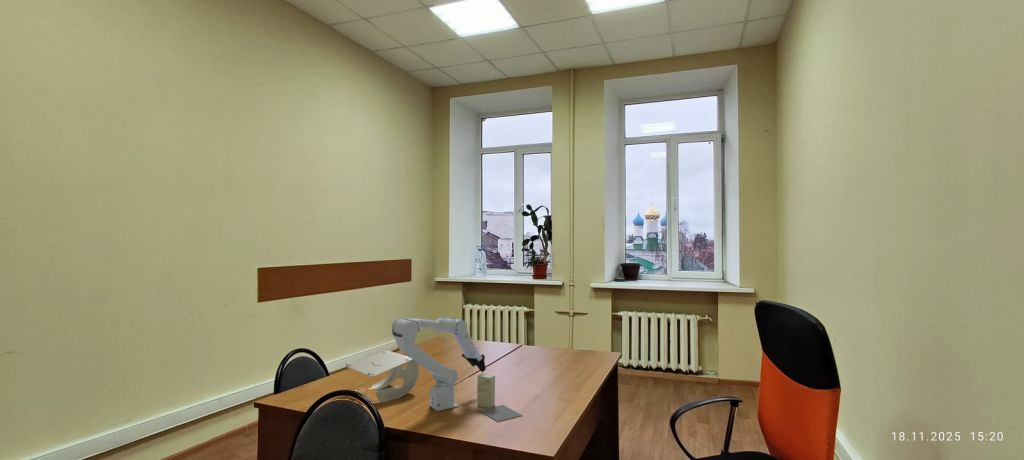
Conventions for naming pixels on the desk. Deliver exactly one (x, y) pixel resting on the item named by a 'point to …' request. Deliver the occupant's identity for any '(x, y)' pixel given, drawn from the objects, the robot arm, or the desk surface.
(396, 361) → the portable electronic device stand
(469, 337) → the robot arm
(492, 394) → the skincare box
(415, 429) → the desk surface
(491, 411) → the mat
